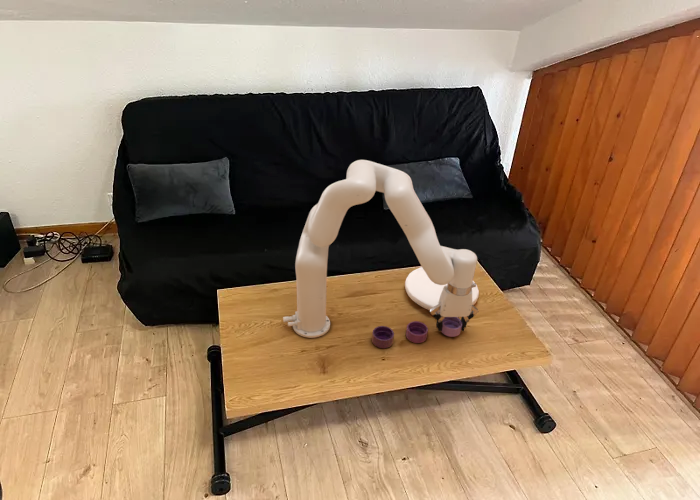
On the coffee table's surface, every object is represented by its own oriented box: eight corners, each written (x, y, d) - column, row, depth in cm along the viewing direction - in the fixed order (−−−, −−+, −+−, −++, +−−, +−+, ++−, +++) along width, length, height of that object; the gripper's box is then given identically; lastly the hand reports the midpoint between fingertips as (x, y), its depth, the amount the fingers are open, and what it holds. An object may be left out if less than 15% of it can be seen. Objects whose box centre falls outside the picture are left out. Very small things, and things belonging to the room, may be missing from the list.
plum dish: (409, 345, 160) (411, 336, 158) (402, 331, 165) (404, 322, 163) (429, 342, 161) (431, 333, 159) (422, 328, 167) (423, 320, 165)
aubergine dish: (375, 350, 157) (376, 341, 155) (369, 336, 163) (370, 327, 161) (395, 347, 159) (396, 339, 157) (389, 333, 164) (390, 324, 162)
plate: (429, 254, 197) (492, 281, 184) (426, 268, 200) (487, 295, 187) (392, 280, 176) (459, 311, 163) (389, 295, 179) (455, 327, 166)
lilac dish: (444, 338, 162) (446, 330, 160) (436, 325, 168) (438, 316, 166) (463, 336, 164) (465, 327, 162) (455, 322, 169) (457, 314, 167)
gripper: (482, 279, 159) (472, 321, 169) (429, 279, 158) (422, 321, 168) (489, 293, 153) (478, 336, 163) (434, 293, 152) (427, 336, 161)
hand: (450, 328), depth 165 cm, fingers closed on lilac dish, 7 cm apart
